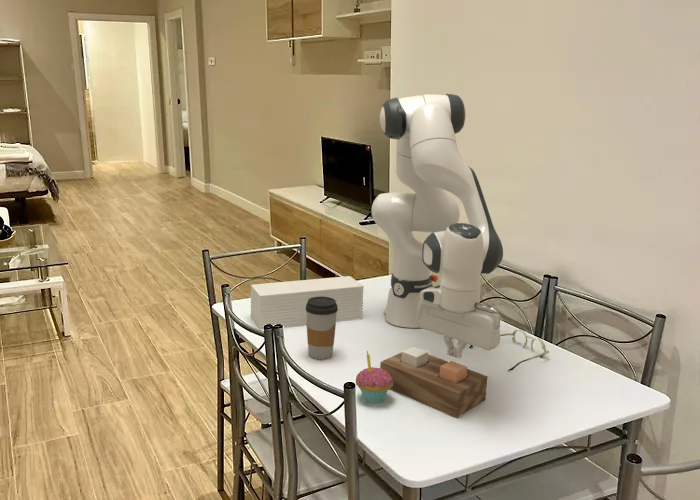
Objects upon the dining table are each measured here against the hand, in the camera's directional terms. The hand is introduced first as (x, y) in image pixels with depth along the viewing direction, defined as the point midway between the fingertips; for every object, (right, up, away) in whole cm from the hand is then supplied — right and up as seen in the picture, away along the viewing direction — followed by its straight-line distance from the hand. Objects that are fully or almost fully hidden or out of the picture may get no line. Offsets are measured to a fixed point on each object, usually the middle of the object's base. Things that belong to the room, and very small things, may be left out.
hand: (454, 356), depth 146 cm
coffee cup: (-31, -4, +25) cm, 40 cm away
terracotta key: (0, -6, +2) cm, 7 cm away
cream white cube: (-8, -4, +9) cm, 13 cm away
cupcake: (-18, -10, +3) cm, 21 cm away
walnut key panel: (-4, -10, +6) cm, 12 cm away
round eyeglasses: (+19, -5, +30) cm, 36 cm away
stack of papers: (-37, +3, +51) cm, 63 cm away
